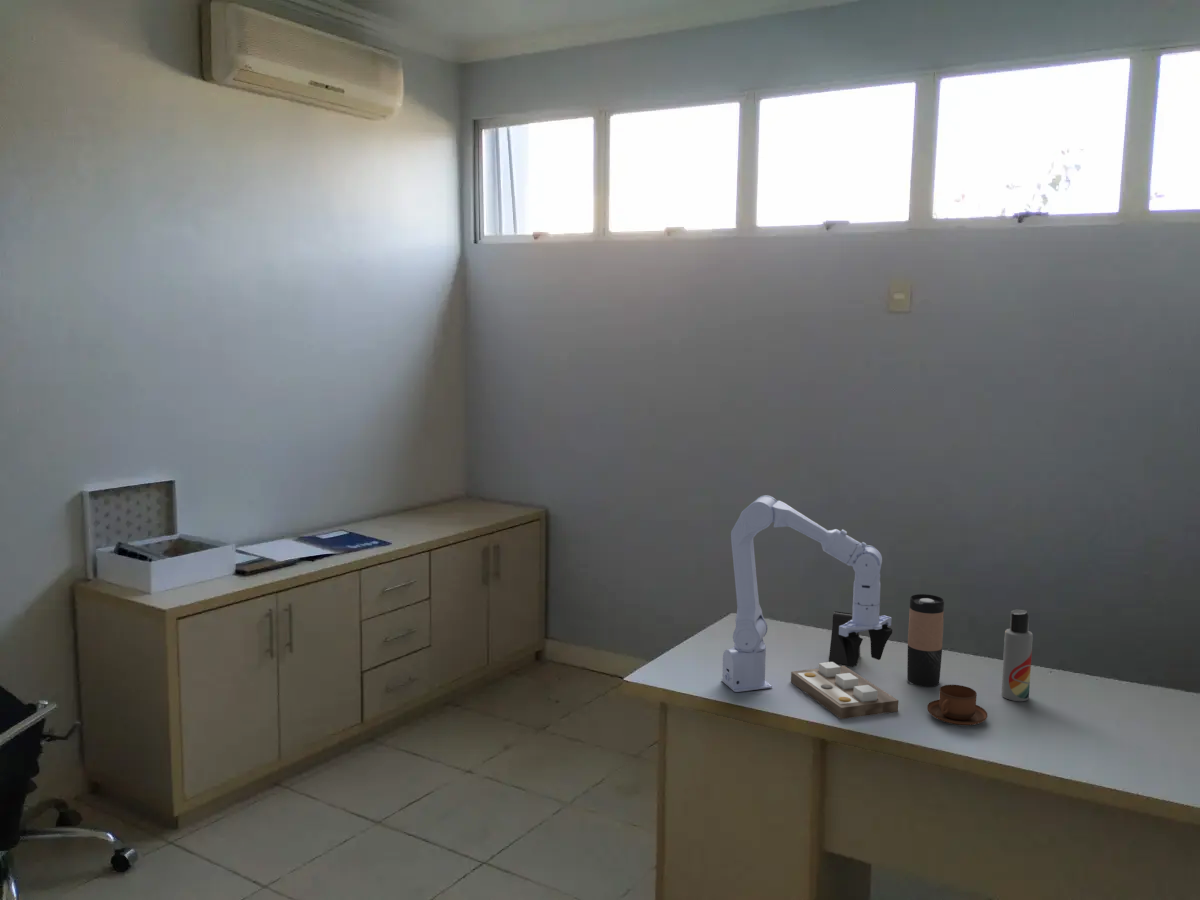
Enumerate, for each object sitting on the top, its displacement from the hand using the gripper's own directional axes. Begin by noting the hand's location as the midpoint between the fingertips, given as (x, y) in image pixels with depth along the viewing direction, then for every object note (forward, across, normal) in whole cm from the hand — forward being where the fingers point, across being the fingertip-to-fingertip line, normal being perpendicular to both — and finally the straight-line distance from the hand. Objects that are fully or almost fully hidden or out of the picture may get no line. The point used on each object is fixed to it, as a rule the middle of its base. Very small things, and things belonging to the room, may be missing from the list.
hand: (864, 661), depth 208 cm
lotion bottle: (+9, +30, -17) cm, 36 cm away
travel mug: (+9, +20, 0) cm, 22 cm away
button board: (+9, -2, +4) cm, 10 cm away
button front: (+7, -3, -4) cm, 9 cm away
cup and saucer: (+9, +9, -18) cm, 22 cm away
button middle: (+7, -1, +4) cm, 8 cm away
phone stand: (+9, +16, +20) cm, 27 cm away
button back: (+7, +1, +11) cm, 13 cm away
